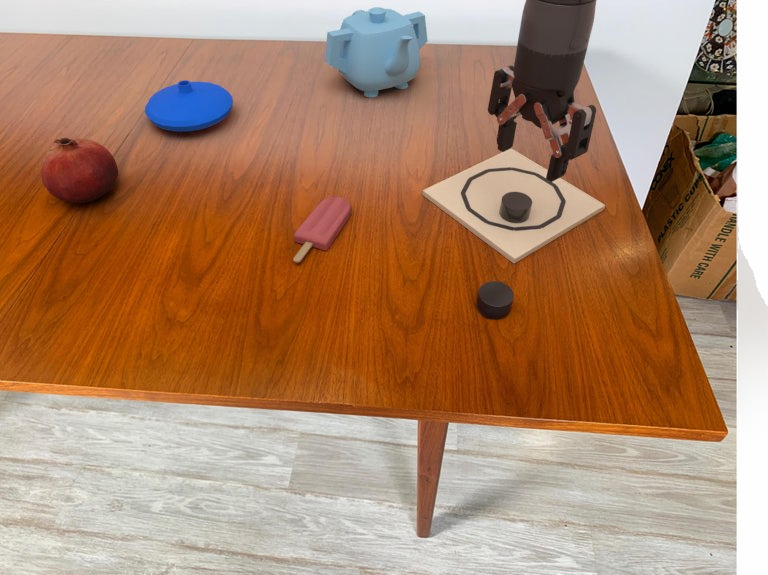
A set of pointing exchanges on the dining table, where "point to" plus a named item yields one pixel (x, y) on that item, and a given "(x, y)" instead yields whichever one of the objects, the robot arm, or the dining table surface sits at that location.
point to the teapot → (377, 49)
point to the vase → (189, 106)
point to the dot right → (494, 300)
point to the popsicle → (322, 225)
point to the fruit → (78, 170)
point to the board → (484, 194)
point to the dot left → (515, 207)
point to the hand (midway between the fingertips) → (528, 163)
